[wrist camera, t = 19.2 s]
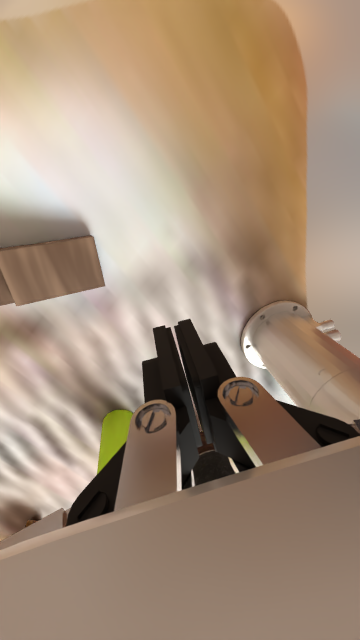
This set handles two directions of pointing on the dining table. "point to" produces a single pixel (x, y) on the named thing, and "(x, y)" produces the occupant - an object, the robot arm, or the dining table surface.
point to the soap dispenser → (113, 435)
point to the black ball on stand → (210, 464)
